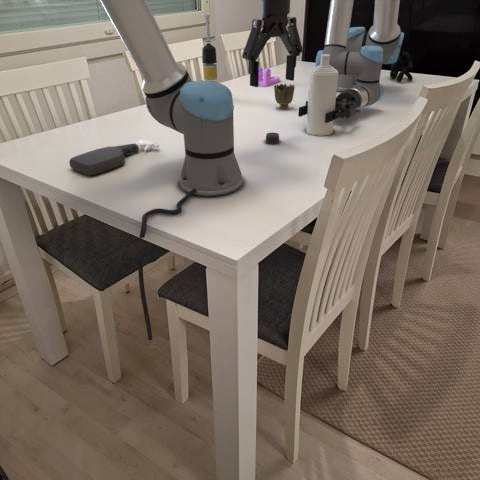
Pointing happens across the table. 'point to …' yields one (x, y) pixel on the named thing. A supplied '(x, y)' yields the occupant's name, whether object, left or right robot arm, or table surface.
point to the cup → (284, 95)
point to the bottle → (321, 97)
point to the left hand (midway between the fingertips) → (272, 83)
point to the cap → (272, 138)
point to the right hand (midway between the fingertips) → (312, 115)
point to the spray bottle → (106, 157)
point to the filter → (209, 57)
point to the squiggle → (401, 67)
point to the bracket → (266, 77)
